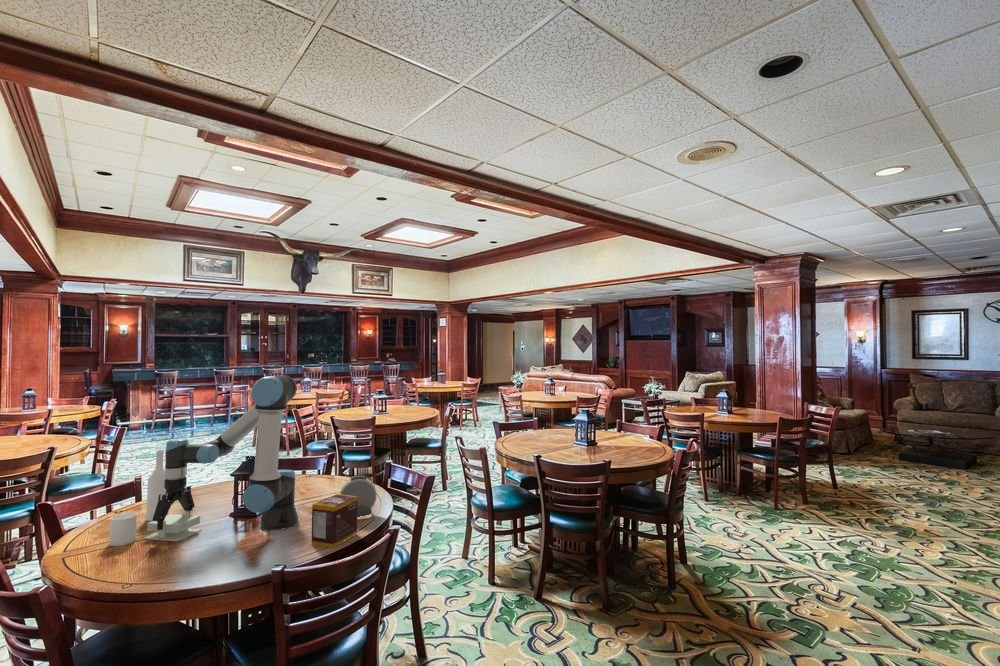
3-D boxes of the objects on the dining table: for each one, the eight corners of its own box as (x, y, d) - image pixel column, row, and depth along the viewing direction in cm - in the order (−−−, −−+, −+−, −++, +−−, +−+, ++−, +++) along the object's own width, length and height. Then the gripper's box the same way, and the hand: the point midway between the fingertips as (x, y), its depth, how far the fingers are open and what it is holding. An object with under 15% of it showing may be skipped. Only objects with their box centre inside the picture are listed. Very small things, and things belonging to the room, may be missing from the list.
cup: (107, 548, 180) (108, 521, 181) (111, 538, 190) (112, 512, 191) (134, 543, 185) (136, 517, 185) (137, 533, 195) (138, 508, 195)
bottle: (147, 522, 208) (149, 453, 209) (145, 517, 214) (148, 450, 215) (169, 518, 213) (172, 450, 215) (167, 513, 219) (169, 447, 221)
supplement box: (357, 534, 196) (358, 495, 197) (333, 548, 182) (333, 507, 182) (336, 531, 199) (337, 493, 200) (310, 545, 185) (311, 504, 186)
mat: (201, 530, 199) (201, 529, 199) (177, 541, 187) (177, 540, 187) (169, 528, 201) (169, 527, 202) (144, 538, 190) (144, 537, 190)
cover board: (199, 523, 199) (200, 515, 199) (178, 532, 188) (178, 525, 188) (170, 521, 201) (170, 514, 201) (147, 530, 190) (147, 523, 190)
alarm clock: (375, 511, 225) (375, 472, 226) (376, 518, 215) (377, 477, 216) (339, 514, 220) (339, 474, 221) (338, 522, 210) (339, 480, 211)
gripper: (190, 470, 208) (188, 521, 207) (142, 484, 185) (140, 542, 183) (205, 471, 207) (203, 522, 206) (159, 485, 183) (157, 543, 182)
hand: (173, 532), depth 194 cm, fingers closed on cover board, 11 cm apart
